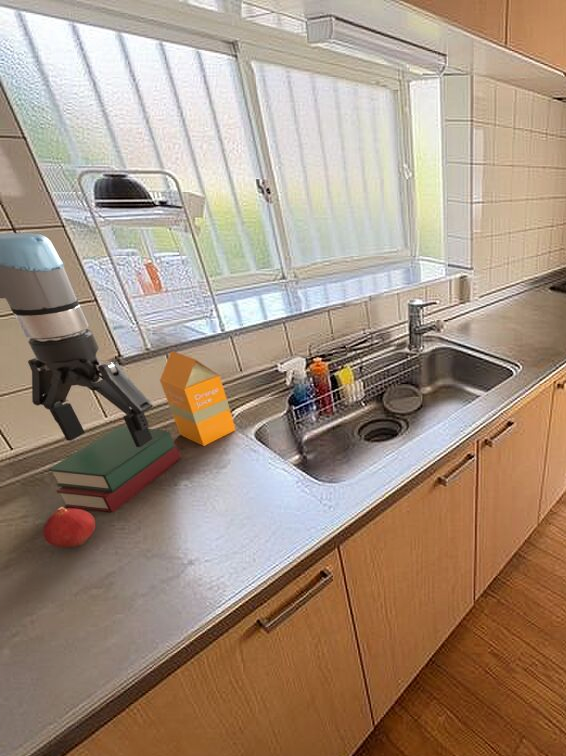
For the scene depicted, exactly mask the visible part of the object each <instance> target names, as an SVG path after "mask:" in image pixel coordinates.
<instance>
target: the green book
mask: <svg viewBox="0 0 566 756" xmlns="http://www.w3.org/2000/svg"><path fill="white" fill-rule="evenodd" d="M148 429H149V431H150V434H151V436H152V440H150V441H149V442H147V443H146V444H144V445H143V446H141V447H136V445H135V443H134V440H133V438H132V436H131V434H130V431H129V429H128V427H127V426H125V425H124V426H123V425H120V426H117V427H116V428H114V429H113V430H111V431H109V432H108V433H106V434H105V435H103V436H101V437H100V438H98V439H96V440H95V441H92V442H90V443H89V444H88V445H86V446H85V447H83V448H80V450H77V451H76V452H74V453H73V454H71V455H69V456H67V457H66V458H64V459H63V460H61V461H59V462H58V463H56V464H54V465H52V466H51V467H49V468H47V469H48V471H49V472H52V474H53V476H54V478H55V479H56V482H57V484H56V486H57V487H59V488H61V487H68V488H77V489H87V490H96V491H106V492H114V491H116V490H117V489H118V488H120V487H121V486H122V485H124V484H125V483H126V482H128V481H129V480H131V479H132V478H133V477H135V476H136V475H137V474H139V473H140V472H141V471H143V470H144V469H145V468H147V467H148V466H150V465H151V464H152V463H154V462H155V461H156V460H158V459H159V458H160V457H162V456H163V455H164V454H166V453H167V452H169V451H170V450H171V449H173V448H174V447H175V445H174V443H175V442H174V440H173V437H172V435H171V431H170V430H167V429H157V428H156V429H155V428H148Z"/></svg>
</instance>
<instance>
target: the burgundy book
mask: <svg viewBox="0 0 566 756" xmlns="http://www.w3.org/2000/svg"><path fill="white" fill-rule="evenodd" d="M174 445H175V447H174V448H173V449H171V450H170V451H169V452H167V453H166V454H164V455H163V456H162V457H160V458H159V459H158V460H156V461H155V462H154V463H152V464H151V465H150V466H148V467H147V468H145V469H144V470H143V471H141V472H140V473H139V474H137V475H136V476H135V477H133V478H132V479H131V480H129V481H128V482H126V483H125V484H124V485H122V486H121V487H120V488H118V489H117V490H116V491H114V492H106V491H96V490H87V489H77V488H68V487H59V488H58V489H57V490H56V493H57V494H60V496H61V498H62V500H63V501H64V503H65V505H64V508H65V509H70V508H73V509H82V510H84V511H94V512H95V511H97V512H104V513H114V512H115V511H117V510H118V509H119V508H120V507H122V506H123V505H124V504H125V503H127V502H128V501H129V500H131V499H132V498H133V497H134V496H136V495H137V494H139V493H140V492H141V491H142V490H144V489H145V488H146V487H147V486H149V485H150V484H151V483H152V482H154V481H155V480H156V479H157V478H159V477H160V476H161V475H162V474H164V473H166V471H168V470H169V469H171V468H172V467H173V466H174V465H175V464H176V463H179V461H180V460H182V457H181V454H180V451H179V449H178V446H177V444H176V443H175V442H174Z"/></svg>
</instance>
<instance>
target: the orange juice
mask: <svg viewBox="0 0 566 756" xmlns="http://www.w3.org/2000/svg"><path fill="white" fill-rule="evenodd" d="M159 382H160V385H161V387H162V391H163V393H164V395H165V398H166V401H167V405H168V407H169V410H170V412H171V414H172V418H173V420H174V423H175V426H176V428H177V430H178V433H179V435H180V436H181V435H182V436H181V437H184V438H186V439H187V440H190V441H193V442H195V443H197V444H199V445H201V446H203V447H204V446H206V445H208V444H210V443H213V442H214V441H216V440H218V439H221V438H222V437H224V436H226V435H229V434H231V433H232V432H234V431H236V425H235V422H234V419H233V416H232V413H231V409H230V405H229V402H228V401H229V400H228V399H227V395H226V392H225V389H224V386H223V382H222V379H221V375H219V374H218V373H216V372H215V371H214V370H212V369H210V368H209V367H207V366H206V365H204V364H203V363H201V362H200V361H198V360H197V359H195V358H192V357H190V356H187V355H185V354H182V353H178V352H175V351H172V350H170V353H169V356H168V359H167V361H166V363H165V366H164V369H163V372H162V374H161V376H160V378H159Z"/></svg>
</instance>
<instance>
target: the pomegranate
mask: <svg viewBox="0 0 566 756" xmlns="http://www.w3.org/2000/svg"><path fill="white" fill-rule="evenodd" d="M95 529H96V521H95V517H94V516H93V515H92V513H90V512H88V511H87V510H84V509H75V508H66V507H64V506H61V507H58V508H57V509H56V511H55V512H54V513H53V514H51V515H50V516H49V518H48V519H47V520H46V522H45V524H44V525H43V527H42V535H43V539H44V541H45V542H46V543H47V544H48V545H51V546H53V547H57V548H72V547H79V546H82V545H83V544H84V543H85V542H86V541H87V540H88V539H89V538H90V537H91V536H92V534H93V533H94V531H95Z"/></svg>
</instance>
